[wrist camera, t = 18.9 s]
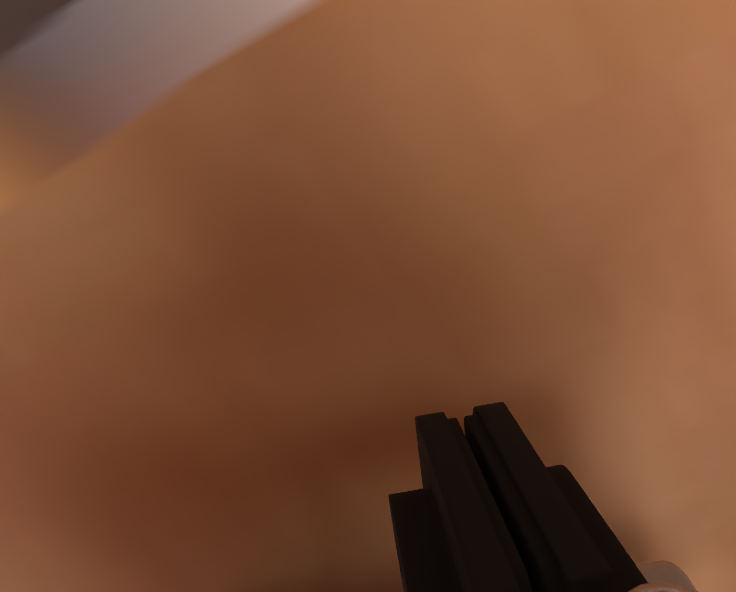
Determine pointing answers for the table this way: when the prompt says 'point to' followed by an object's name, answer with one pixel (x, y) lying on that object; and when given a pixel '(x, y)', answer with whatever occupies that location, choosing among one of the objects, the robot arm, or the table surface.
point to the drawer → (664, 573)
